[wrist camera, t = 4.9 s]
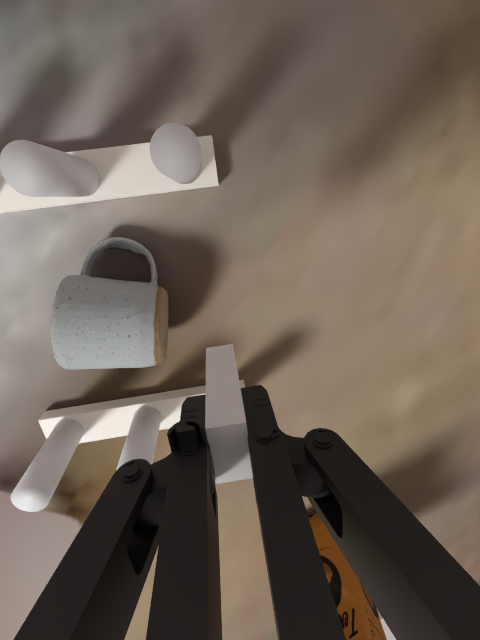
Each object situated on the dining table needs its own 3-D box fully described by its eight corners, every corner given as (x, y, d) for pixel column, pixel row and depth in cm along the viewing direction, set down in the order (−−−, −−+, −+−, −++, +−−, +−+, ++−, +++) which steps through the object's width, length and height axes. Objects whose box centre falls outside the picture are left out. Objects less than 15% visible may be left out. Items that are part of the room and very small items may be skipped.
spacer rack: (56, 438, 35) (6, 520, 26) (-57, 169, 25) (-200, 155, 16) (247, 406, 36) (261, 475, 27) (211, 138, 26) (215, 108, 17)
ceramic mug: (171, 346, 32) (162, 387, 25) (86, 344, 31) (51, 386, 24) (171, 238, 29) (161, 251, 22) (75, 232, 28) (30, 243, 20)
